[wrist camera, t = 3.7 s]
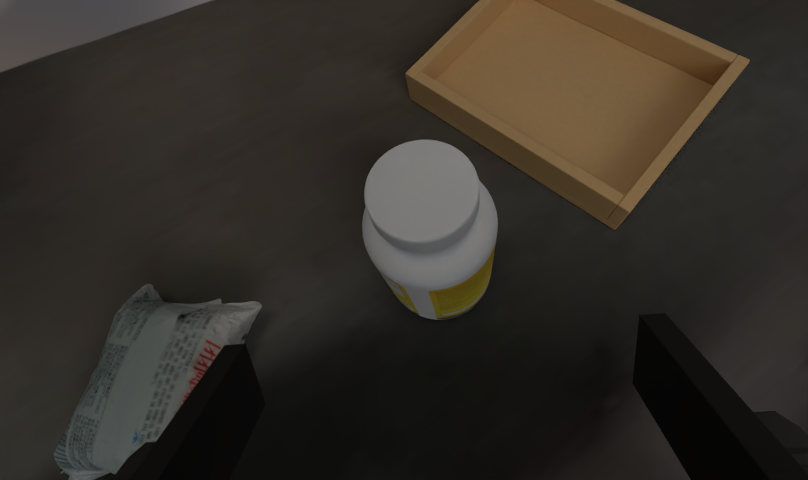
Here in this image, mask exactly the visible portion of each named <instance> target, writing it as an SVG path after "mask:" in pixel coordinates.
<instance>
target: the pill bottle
mask: <svg viewBox="0 0 808 480" xmlns="http://www.w3.org/2000/svg"><path fill="white" fill-rule="evenodd" d="M364 199H365V205H366V207H365V210H364V215H363V221H362V233H363V240H364V244H365V247H366V250H367V252H368V254H369V256H370V258H371V260H372V262H373V263H374V265H375V266H376V268H377V269H378V271H379V272H380V274H381V275H382V277H383V278H384V279H385V281H386V282H387V284H388V285H389V287H390V288H391V290H392V291H393V293H394V294H395V296H396V297H397V299H398V300H399V301H400V302H401V303H402V304H403V305H404V306H405V307H406V308H407V309H409V310H410V311H411V312H413V313H415V314H417V315H419V316H422V317H425V318H429V319H435V320H444V319H451V318H455V317H458V316H460V315H462V314H464V313H466V312H468V311H469V310H471V309H472V308H473V307H474V306H475V305H476V304H477V303H478V302H479V301H480V300H481V298H482V297H483V295H484V294H485V292H486V290H487V287H488V284H489V281H490V276H491V270H492V264H493V257H494V250H495V244H496V238H497V229H498V219H497V212H496V208H495V205H494V202H493V200H492V197H491V195H490V194H489V192H488V190H487V189H486V188H485V186H484V185H483V184H482V183H481V182H480V181H479V179H478V176H477V173H476V170H475V168H474V166H473V164H472V163H471V162H470V160H469V159H468V158H467V157H466V156H465V155H464V154H463V153H462V152H461V151H459V150H458V149H456V148H455V147H453V146H451V145H449V144H447V143H444V142H440V141H435V140H415V141H410V142H406V143H403V144H400V145H398V146H396V147H394V148H392V149H391V150H389V151H388V152H386V153H385V154H384V155H383V156H382V157H380V158H379V160H378V161H377V162H376V163H375V164H374V166H373V167H372V169H371V170H370V172H369V175H368V177H367V180H366V184H365V189H364Z"/></svg>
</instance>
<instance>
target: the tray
mask: <svg viewBox="0 0 808 480" xmlns="http://www.w3.org/2000/svg"><path fill="white" fill-rule="evenodd" d="M749 62H750V60H749V59H747V58H745V57H742V56H740V55H738V56H737V54H735V53H733V52H731V51H728V50H726V49H724V48H722V47H719V46H717V45H715V44H713V43H710V42H708V41H706V40H704V39H701V38H699V37H697V36H695V35H692V34H690V33H688V32H685V31H683V30H681V29H679V28H676V27H674V26H672V25H670V24H667V23H665V22H663V21H661V20H658V19H656V18H654V17H652V16H649V15H647V14H645V13H642V12H640V11H638V10H636V9H633V8H631V7H629V6H627V5H624V4H622V3H620V2H618V1H615V0H479V1H478V2H477V3H476V4H475V5H474V6H473V7H472V8H471V9H470V10H469V11H468V12H467V13H466V14H465V15H464V16H463V17H462V18H461V19H460V20H459V21H458V22H457V23H456V24H455V25H454V26H453V27H452V28H451V29H450V30H449V31H448V32H447V33H446V34H445V35H444V36H443V37H442V38H441V39H440V40H439V41H438V42H437V43H436V44H434V45H433V46H432V47H431V48H430V49H429V50H428V51H427V52H426V53H425V54H424V55H423V56H422V57H421V58H420V59H419V60H418V61H417V62H416V63H415V64H414V65H413V66H412V67H411V68H410V69H409V70H408V71H407V72H406V73H405V75H406V80H407V86H408V91H409V96H410V99H411V100H412V101H414V102H416V103H417V104H419V105H420V106H422V107H423V108H425V109H426V110H428V111H430V112H431V113H433V114H434V115H436V116H437V117H439V118H440V119H442V120H444V121H445V122H447V123H448V124H450V125H451V126H453V127H454V128H456V129H458V130H459V131H461V132H462V133H464V134H465V135H467V136H468V137H470V138H472V139H473V140H475V141H476V142H478V143H479V144H481V145H482V146H484V147H486V148H487V149H489V150H490V151H492V152H493V153H495V154H496V155H498V156H500V157H501V158H503V159H504V160H506V161H507V162H509V163H510V164H512V165H514V166H515V167H517V168H518V169H520V170H521V171H523V172H524V173H526V174H528V175H529V176H531V177H532V178H534V179H535V180H537V181H538V182H540V183H542V184H543V185H545V186H546V187H548V188H549V189H551V190H552V191H554V192H556V193H557V194H559V195H560V196H562V197H563V198H565V199H566V200H568V201H570V202H571V203H573V204H574V205H576V206H577V207H579V208H580V209H582V210H584V211H585V212H587V213H588V214H590V215H591V216H593V217H594V218H596V219H598V220H599V221H601V222H602V223H604V224H605V225H607V226H608V227H610V228H612V229H613V230H616V229H617V228H618V226H619V225H620V224H621V223H622V222H623V220H624V219H625V218H626V217H627V216H628V214H629V213H630V212H631V211H632V210H633V208H634V207H635V206H636V204H637V203H638V202H639V201H640V199H641V198H642V197H643V196H644V194H645V193H646V192H647V191H648V189H649V188H650V187H651V186H652V184H653V183H654V182H655V181H656V179H657V178H658V177H659V175H660V174H661V173H662V172H663V170H664V169H665V168H666V167H667V165H668V164H669V163H670V162H671V160H672V159H673V158H674V157H675V155H676V154H677V153H678V151H679V150H680V149H681V148H682V146H683V145H684V144H685V143H686V141H687V140H688V139H689V138H690V136H691V135H692V134H693V133H694V131H695V130H696V129H697V127H698V126H699V125H700V124H701V122H702V121H703V120H704V119H705V117H706V116H707V115H708V114H709V112H710V111H711V110H712V109H713V107H714V106H715V105H716V104H717V102H718V101H719V100H720V98H721V97H722V96H723V95H724V93H725V92H726V91H727V90H728V88H729V87H730V86H731V85H732V83H733V82H734V81H735V80H736V78H737V77H738V76H739V74H740V73H741V72H742V71H743V69H744V68H745V67H746V66H747V64H748V63H749Z"/></svg>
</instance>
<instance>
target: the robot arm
mask: <svg viewBox="0 0 808 480" xmlns="http://www.w3.org/2000/svg"><path fill="white" fill-rule="evenodd" d="M633 385H634V386H635V388H636V390H637V391H638V393H639V395H640V396H641V398H642V399H643V401H644V403H645V404H646V406H647V408H648V409H649V411H650V413H651V414H652V416H653V418H654V419H655V421H656V423H657V424H658V426H659V428H660V429H661V431H662V433H663V434H664V436H665V438H666V439H667V441H668V443H669V444H670V446H671V447H672V449H673V451H674V452H675V454H676V456H677V457H678V459H679V461H680V462H681V464H682V466H683V467H684V469H685V471H686V472H687V474H688V476H689V477H690V479H691V480H808V435H807V434H806V433H805V432H804V431H803V430H802V429H801V428H800V427H799V426H797V425H795V424H794V423H792V422H791V421H789V420H788V419H786V418H785V417H783V416H781V415H780V414H778V413H777V412H775V411H768V412H753V411H752V410H751V409H750V408H749V407H748V406H747V405H746V404H745V402H744V401H743V400H742V399H741V398H740V397H739V396H738V395H737V393H736V392H735V391H734V390H733V389H732V388H731V387H730V386H729V384H728V383H727V382H726V381H725V380H724V379H723V378H722V377H721V375H720V374H719V373H718V372H717V371H716V370H715V369H714V368H713V366H712V365H711V364H710V363H709V362H708V361H707V360H706V359H705V357H704V356H703V355H702V354H701V353H700V352H699V351H698V350H697V349H696V347H695V346H694V345H693V344H692V343H691V342H690V341H689V340H688V338H687V337H686V336H685V335H684V334H683V333H682V332H681V331H680V329H679V328H678V327H677V326H676V325H675V324H674V323H673V322H672V320H671V319H670V318H669V317H668V316H667V315H666V314H665V313H661V314H647V315H639V325H638V335H637V345H636V355H635V365H634V375H633ZM264 406H265V401H264V398H263V395H262V392H261V389H260V386H259V383H258V380H257V377H256V374H255V371H254V368H253V365H252V362H251V359H250V356H249V353H248V350H247V347H246V344H233V345H224V347H223V348H222V349H221V351H220V352H219V354H218V355H217V356H216V358H215V359H214V361H213V362H212V363H211V365H210V366H209V368H208V369H207V370H206V372H205V373H204V375H203V376H202V378H201V379H200V380H199V382H198V383H197V385H196V386H195V387H194V389H193V390H192V392H191V393H190V394H189V396H188V397H187V399H186V400H185V401H184V403H183V404H182V406H181V407H180V408H179V410H178V411H177V413H176V414H175V415H174V417H173V418H172V420H171V421H170V422H169V424H168V425H167V427H166V428H165V430H164V431H163V432H162V434H161V435H160V437H159V438H158V439H157V441H156V442H145V443H144V444H143V445H142V446H141V447H140V448H139V449H137V450H136V451H135V452H134V453H133V454H132V455H130V456H129V457H128V458H127V459H126V461H125V462H124V463H123V465H122V466H121V467H120V469H119V470H118V471H117V473H116V474H115V475H114V479H111V480H229V479H230V477H231V475H232V473H233V471H234V469H235V467H236V465H237V463H238V460H239V458H240V456H241V454H242V452H243V450H244V448H245V446H246V444H247V442H248V439H249V437H250V435H251V433H252V431H253V429H254V427H255V425H256V423H257V421H258V418H259V416H260V414H261V412H262V410H263V408H264Z"/></svg>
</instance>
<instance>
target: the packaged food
mask: <svg viewBox="0 0 808 480" xmlns="http://www.w3.org/2000/svg"><path fill="white" fill-rule="evenodd" d="M155 292H157V291H156V290H154V289H153V285H150V284H144V285H143V286H142V287H141V288H140V289H139V290H138V291H137V292H136V293H134V294H133V295H132V296H131V297H130V298H129V299H128V300H127V301H126V302H125V303H124V304H123V306H122V307H121V308H120V309H119V310H118V312H116V314H115V317H114V319H113V322H112V325H111V328H110V331H109V334H108V337H107V340H106V343H105V345H104V348H103V351H102V353H101V356H100V359H99V363H98V366H97V367H96V368H95V370H94V371H93V373H92V375H91V378H90V382H89V384H88V386H87V388H86V390H85V392H84V394H83V396H82V398H81V400H80V401H79V403H78V405H77V408H76V410H75V412H74V414H73V416H72V418H71V419H70V421H69V423H68V427H67V429H66V430H65V432H64V434H63V436H62V438H61V439H60V441H59V443H58V446H57V448H56V449H55V451H54V459H55V461H56V462H57V464H58V466H59V468H61V471H60V474H61V473H63V472H64V473H66V474H68V475H69V476H70V477H69V479H68V480H94V479H96V478H98V477H100V476H103V475H106V474H108V473H113V474H116V473H117V471H118V470H119V469H120V467H121V466H122V465H123V463H124V462H125V461H126V459H127V458H128V457H129V456H130V455H132V454H133V453H134V452H135V451H136V450H137V449H139V448H140V447H141V446H142V445H143V444H144V443H145V442H156V441H157V439H158V438H159V437H160V435H161V434H162V432H163V431H164V430H165V428H166V427H167V425H168V424H169V422H170V421H171V420H172V418H173V417H174V415H175V414H176V413H177V411H178V410H179V408H180V407H181V406H182V404H183V403H184V401H185V400H186V399H187V397H188V396H189V394H190V393H191V392H192V390H193V389H194V387H195V386H196V385H197V383H198V382H199V380H200V379H201V378H202V376H203V375H204V373H205V372H206V370H207V369H208V368H209V366H210V365H211V363H212V362H213V361H214V359H215V358H216V356H217V355H218V354H219V352H220V351H221V349H222V348H223V347H224V345H233V344H244V342H245V339H246V337H247V335H248V332H249V330H250V328H251V324H252V323H253V322H254V320H255V317H256V316H257V314H258V312H259V311H260V309H261V307H262V305H261V304H260V303H259V302H255V301H251V302H244V303H228V304H223V303H220V302H221V299H216V300H213V301H210V302H204V303H197V304H182V303H169V302H163V300H162V299H161V297H160V296H159V294H158V292H157V293H155ZM217 304H218V305H217ZM203 305H204V306H203ZM233 306H234V307H233Z"/></svg>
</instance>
